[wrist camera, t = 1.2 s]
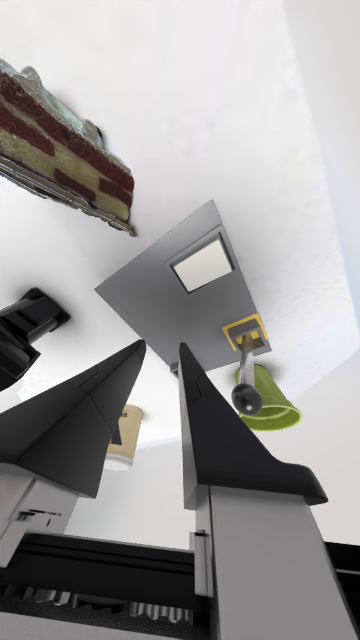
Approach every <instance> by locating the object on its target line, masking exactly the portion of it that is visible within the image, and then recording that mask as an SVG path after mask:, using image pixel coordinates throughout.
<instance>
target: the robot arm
mask: <svg viewBox="0 0 360 640" xmlns="http://www.w3.org/2000/svg"><path fill="white" fill-rule="evenodd" d="M69 319H70V316H69V315H68V314H67V313H66V312H64V311H63V310H62V309H61V308H60V307H59V306H57V305H56V304H55V303H54V302H53V301H51V300H50V299H49V298H48V297H47V296H45V295H44V294H43V293H42V292H41V291H40V290H38V289H37V288H32V289H30V290H29V291H28V292H27V293H26V294H25V295H24V296H23V297H22V298H21V299H20V300H19V301H18V302H17V303H15V304H13V305H10V306H8V307H6V308H4V309H1V310H0V392H1V391H2V390H5V389H7V388H8V387H10V386H12V385H13V384H14V383H15V382H17V381H18V380H19V379H21V378H22V377H23V376H24V374H25V373H26V372H27V371H28V370H29V368H30V367H31V366H32V365H33V363H34V362H35V361H36V360H37V358H38V357H39V356H40V355H41V353H40V352H39V351H37V350H35V349H34V348H33V347H32V346H31V344H32V343H34V342H35V341H36V340H38V339H39V338H40V337H42V336H43V335H44V334H46V333H47V332H52V331H54V330H55V329H56V328H58V327H59V326H61V325H62V324H63V323H65V322H66V321H68V320H69ZM145 353H146V342H145V340H142V339H140V340H138V341H136V342H134V343H133V344H131V345H129V346H127V347H126V348H124V349H122V350H120V351H119V352H117V353H115V354H114V355H112V356H110V357H108V358H107V359H105V360H103V361H102V362H100V363H98V364H96V365H94V366H93V367H91V368H89V369H87V370H86V371H84V372H82V373H80V374H78V375H76V376H74V377H72V378H70V379H68V380H66V381H64V382H62V383H60V384H58V385H56V386H54V387H52V388H50V389H48V390H46V391H44V392H42V393H40V394H38V395H36V396H34V397H32V398H30V399H28V400H26V401H24V402H22V403H20V404H18V405H16V406H14V407H12V408H10V409H8V410H6V411H5V412H3V413H0V640H360V546H358V545H349V544H340V543H332V542H325V541H324V540H323V538H322V536H321V533H320V531H319V528H318V526H317V524H316V521H315V519H314V516H313V514H312V512H311V509H310V507H309V506H311V505H317V504H322V503H326V502H328V498H327V496H326V494H325V492H324V490H323V488H322V486H321V485H320V483H319V481H318V480H317V478H316V477H315V475H314V473H313V472H312V471H311V469H310V468H308V467H306V466H303V465H299V464H290V463H284V462H281V461H279V460H277V459H276V458H275V457H274V456H272V455H271V454H270V452H269V451H268V450H267V449H266V448H265V446H264V445H263V444H262V443H261V442H260V440H259V439H258V438H257V437H256V436H255V434H254V433H253V432H252V431H251V430H250V428H249V427H248V426H247V425H246V424H245V422H244V421H243V420H242V419H241V418H240V416H239V415H238V414H237V413H236V412H235V410H234V409H233V408H232V407H231V406H230V404H229V403H228V402H227V401H226V400H225V398H224V397H223V396H222V395H221V394H220V392H219V391H218V390H217V389H216V387H215V386H214V385H213V384H212V382H211V381H210V379H209V378H208V377H207V375H206V373H205V372H204V371H203V369H202V367H201V366H200V364H199V363H198V361H197V360H196V358H195V356H194V355H193V353H192V352H191V350H190V349H189V347H188V346H187V344H186V343H185V342H180V347H179V363H178V377H179V395H180V413H181V432H182V451H183V485H184V486H183V487H184V509H188V510H196V532H190V534H189V550H182V549H175V548H167V547H159V546H151V545H143V544H136V543H127V542H120V541H112V540H104V539H95V538H88V537H80V536H73V535H65V534H64V531H65V529H66V526H67V524H68V522H69V519H70V517H71V514H72V512H73V510H74V507H75V505H76V502H77V500H78V498H79V497H85V498H93V499H95V498H96V496H97V493H98V488H99V484H100V480H101V475H102V471H103V467H104V462H105V458H106V454H107V449H108V445H109V442H110V440H111V437H112V434H113V432H114V430H115V428H116V425H117V423H118V421H119V418H120V416H121V414H122V411H123V409H124V407H125V404H126V402H127V400H128V397H129V395H130V393H131V390H132V388H133V386H134V384H135V381H136V379H137V377H138V374H139V372H140V370H141V367H142V364H143V360H144V357H145ZM57 604H61V605H57Z"/></svg>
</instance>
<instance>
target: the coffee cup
mask: <svg viewBox="0 0 360 640" xmlns="http://www.w3.org/2000/svg"><path fill="white" fill-rule="evenodd" d="M141 419H142V411H141V410H140V409H139V408H137V407H135V406H132V405H125V407H124V409H123V411H122V414H121V416H120V418H119V421H118V423H117V425H116V428H115V430H114V432H113V434H112V437H111V440H110V442H109V445H108V449H107V454H106V458H105V462H104V467H103V468H106V469H111V470H119V471H125V470H129V469H130V468H131V466H132V465H133V458H134V453H135V449H136V444H137V439H138V434H139V429H140V424H141Z"/></svg>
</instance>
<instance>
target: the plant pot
mask: <svg viewBox="0 0 360 640" xmlns="http://www.w3.org/2000/svg"><path fill="white" fill-rule="evenodd" d="M239 376H240V370H238V371H237V372H236V382H237V385H239ZM254 384H255V388H256V389H257V390H258V391H259V392H260V394H261V396H262V399H263V407H262V409H261V411H260V412H259V413H258V414H257V415H254V416H247V415H244V414H242V413H240V412H239V416H240V418H241V419H242V420H243V421H244V422H245V424H246V425H247V426H248V427H249V428H250V430H254V431H277V430H283V429H287V428H290V427H292V426H295V425H296V424H298V423H299V422H300V421H301V420H302V414H301V412H300V411H299V410H298V409H297V408H295V407H294V406H293V405H292V404H291V403H290V401H288V400H287V399H286V398H285V396H284V395H283V393H282V392H281V390H280V389H279V388H278V386H277V385H276V383H275V382H274V381H273V379H272V378H271V376H270V375H269V373H268V372H267V371H266V369H264V368H263V367H261V366H259V365H254Z"/></svg>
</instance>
